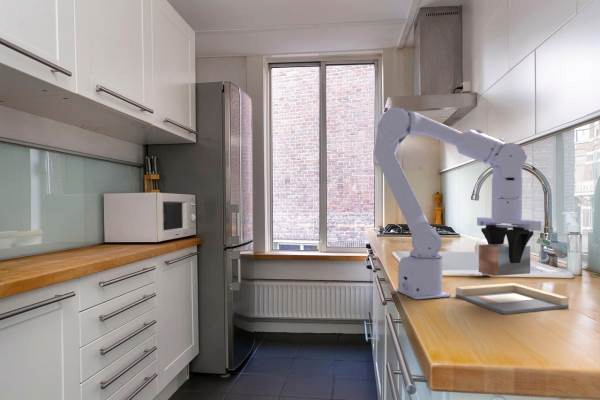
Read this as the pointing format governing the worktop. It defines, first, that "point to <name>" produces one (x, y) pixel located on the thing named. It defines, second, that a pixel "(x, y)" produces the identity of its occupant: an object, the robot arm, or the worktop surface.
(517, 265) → the painted block
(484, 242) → the lightbulb
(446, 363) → the worktop surface
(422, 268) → the robot arm
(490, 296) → the tray
